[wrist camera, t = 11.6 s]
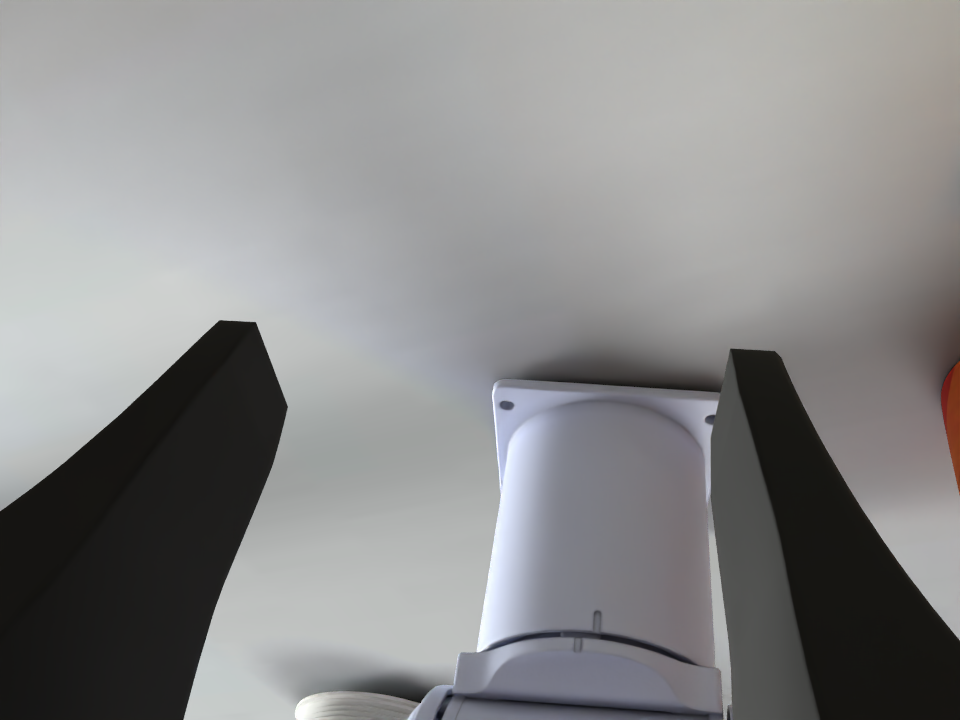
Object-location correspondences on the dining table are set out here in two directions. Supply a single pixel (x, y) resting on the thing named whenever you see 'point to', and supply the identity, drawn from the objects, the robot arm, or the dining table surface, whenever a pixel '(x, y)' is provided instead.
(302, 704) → the lid
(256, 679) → the dining table surface
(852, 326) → the dining table surface
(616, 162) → the dining table surface
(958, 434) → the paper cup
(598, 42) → the dining table surface
